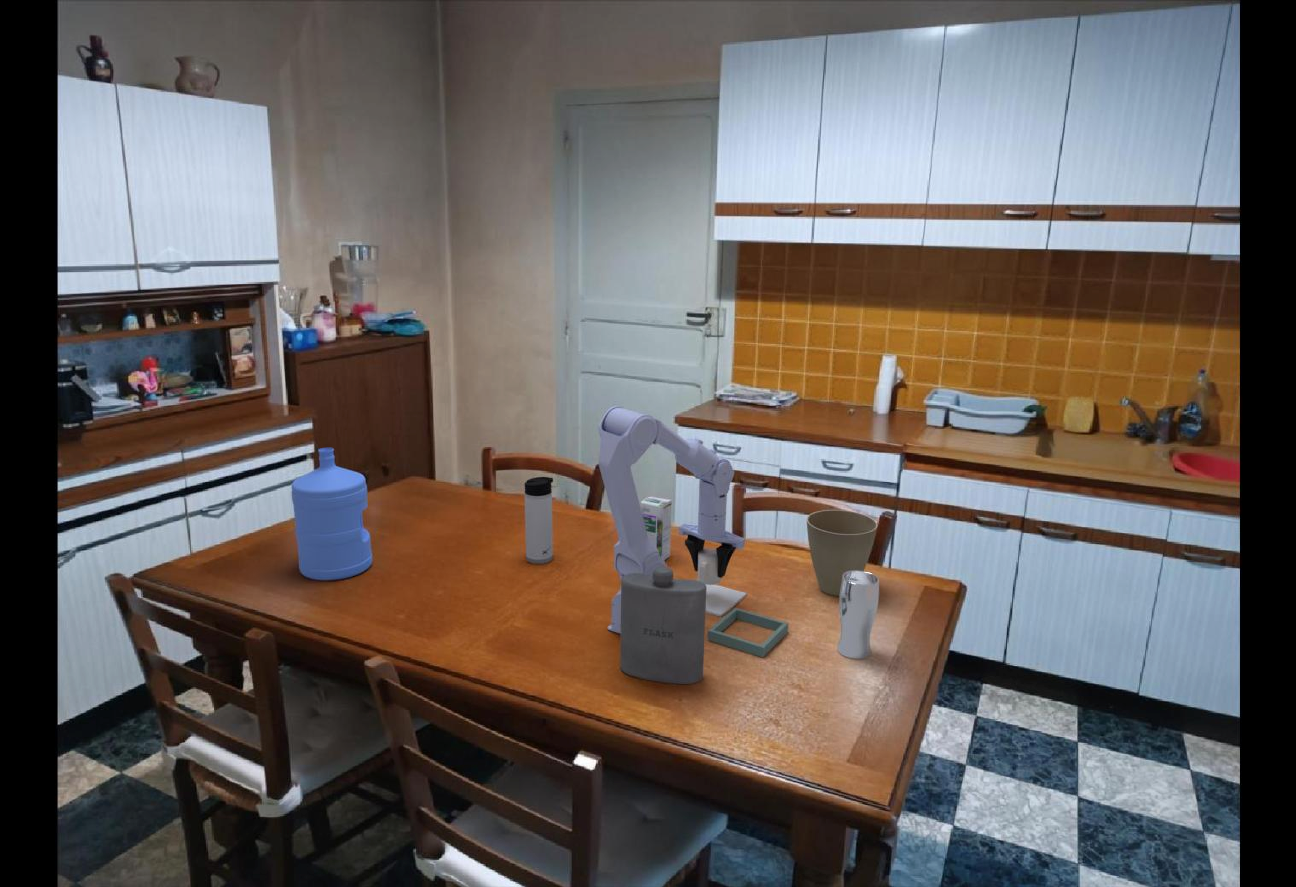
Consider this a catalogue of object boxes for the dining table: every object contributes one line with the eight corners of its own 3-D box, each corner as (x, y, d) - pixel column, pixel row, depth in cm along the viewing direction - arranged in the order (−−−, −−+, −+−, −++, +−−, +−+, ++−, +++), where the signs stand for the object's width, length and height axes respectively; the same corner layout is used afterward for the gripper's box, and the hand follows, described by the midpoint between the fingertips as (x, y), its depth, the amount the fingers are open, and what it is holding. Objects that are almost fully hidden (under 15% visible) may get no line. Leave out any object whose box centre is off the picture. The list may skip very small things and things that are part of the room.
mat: (720, 617, 162) (720, 614, 162) (670, 602, 168) (670, 599, 168) (746, 595, 172) (746, 593, 172) (697, 581, 178) (697, 579, 178)
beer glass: (845, 638, 155) (851, 566, 151) (879, 650, 150) (886, 576, 146) (828, 652, 149) (834, 578, 146) (863, 665, 145) (870, 589, 141)
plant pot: (815, 569, 186) (820, 505, 181) (878, 584, 178) (885, 517, 174) (791, 593, 173) (796, 524, 169) (859, 611, 166) (866, 539, 162)
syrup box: (638, 559, 190) (639, 502, 186) (650, 551, 195) (651, 494, 191) (659, 564, 187) (661, 506, 183) (671, 556, 192) (672, 498, 188)
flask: (615, 676, 140) (616, 571, 135) (624, 659, 146) (625, 557, 140) (699, 689, 137) (703, 581, 132) (705, 671, 142) (709, 567, 137)
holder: (763, 657, 147) (763, 647, 147) (707, 640, 153) (707, 630, 152) (787, 632, 157) (788, 622, 156) (734, 616, 163) (734, 607, 162)
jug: (702, 573, 172) (703, 547, 171) (724, 577, 170) (725, 551, 168) (690, 584, 166) (691, 558, 165) (712, 589, 164) (713, 562, 163)
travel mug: (552, 564, 186) (551, 482, 181) (524, 564, 186) (522, 482, 181) (555, 554, 192) (554, 474, 187) (528, 553, 192) (526, 474, 187)
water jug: (324, 588, 172) (312, 463, 164) (285, 569, 181) (272, 450, 174) (386, 565, 184) (378, 448, 177) (347, 548, 193) (337, 436, 186)
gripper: (752, 513, 165) (749, 574, 168) (691, 500, 172) (689, 558, 176) (737, 523, 159) (734, 586, 162) (674, 509, 166) (672, 569, 170)
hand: (709, 572), depth 169 cm, fingers closed on jug, 5 cm apart
